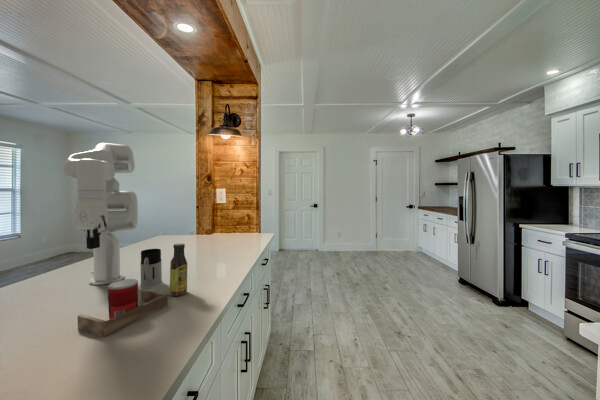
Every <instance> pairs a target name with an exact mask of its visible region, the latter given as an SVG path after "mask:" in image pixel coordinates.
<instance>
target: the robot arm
mask: <svg viewBox="0 0 600 400" xmlns="http://www.w3.org/2000/svg"><path fill="white" fill-rule="evenodd" d="M91 149H92V150H88V151H82V152H77V153H73V154H70V155H69V156H68V157H67V159H66V160H65V162H64V164H63V168H62V169H63V171H62V172H63V174H64V176H65V178H67V179H69V180H71V181H76V191H77V192H76V193H77V201H76V204H75V212H74V213H75V215H74V216H75V217H74V218H75V219H74V221H75V222H74V225H75V227H76V228H77V229H81V231H83V232H84V236H85V238H86V249H88V250H92V251H93V255H92V256H93V271H91V272H90V273H91V275H93V277H91V278H90V279H89V284H90V285H93V286H97V285H98V286H99V285H107V284H108V285H109V284H111V283H113V282H116V281H120V280H124V278H125V274H124V273H121V251H120V250H121V246H120V243H121V241H120V239H119V238H118V237H117V235H116V234H115V232H128V231H134V230H135V229H136V228H137V226H138V218H139V217H138V215H139V214H138V196H137V193H136V192H134V191H131V190H120V183H119V181H118V180H117V178H115V175H116V174H132V173H134V171H135V168H136V166H135V157H134V153H133V150H132V148H131V147H130V146H129V145H127V144H123V143H109V142H100V143H97V144H96V145H94V146H93V148H91ZM113 232H114V233H113Z"/></svg>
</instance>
